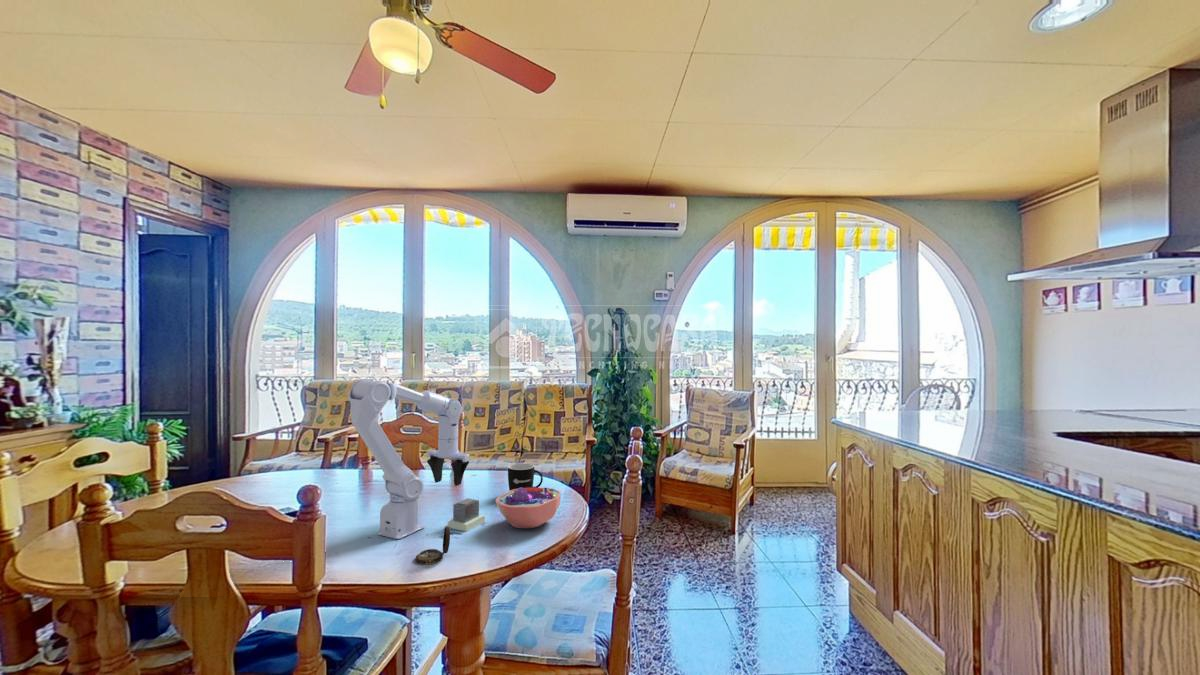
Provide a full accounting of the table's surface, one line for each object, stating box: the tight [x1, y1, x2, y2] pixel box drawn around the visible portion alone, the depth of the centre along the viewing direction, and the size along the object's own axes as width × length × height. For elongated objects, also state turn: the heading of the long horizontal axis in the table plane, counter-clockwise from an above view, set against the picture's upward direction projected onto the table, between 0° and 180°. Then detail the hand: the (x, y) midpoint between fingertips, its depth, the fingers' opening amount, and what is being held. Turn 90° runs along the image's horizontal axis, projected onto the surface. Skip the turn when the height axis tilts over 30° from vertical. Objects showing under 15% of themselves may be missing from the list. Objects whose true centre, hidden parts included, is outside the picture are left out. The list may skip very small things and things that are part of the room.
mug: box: [507, 462, 544, 492], centre depth 167 cm, size 12×9×10 cm
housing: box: [452, 497, 480, 523], centre depth 139 cm, size 6×4×5 cm
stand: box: [447, 514, 486, 532], centre depth 140 cm, size 8×6×2 cm
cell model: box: [495, 487, 562, 529], centre depth 140 cm, size 17×20×11 cm
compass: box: [414, 525, 451, 565], centre depth 117 cm, size 8×8×7 cm
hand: (447, 483), depth 146 cm, fingers open, 7 cm apart
